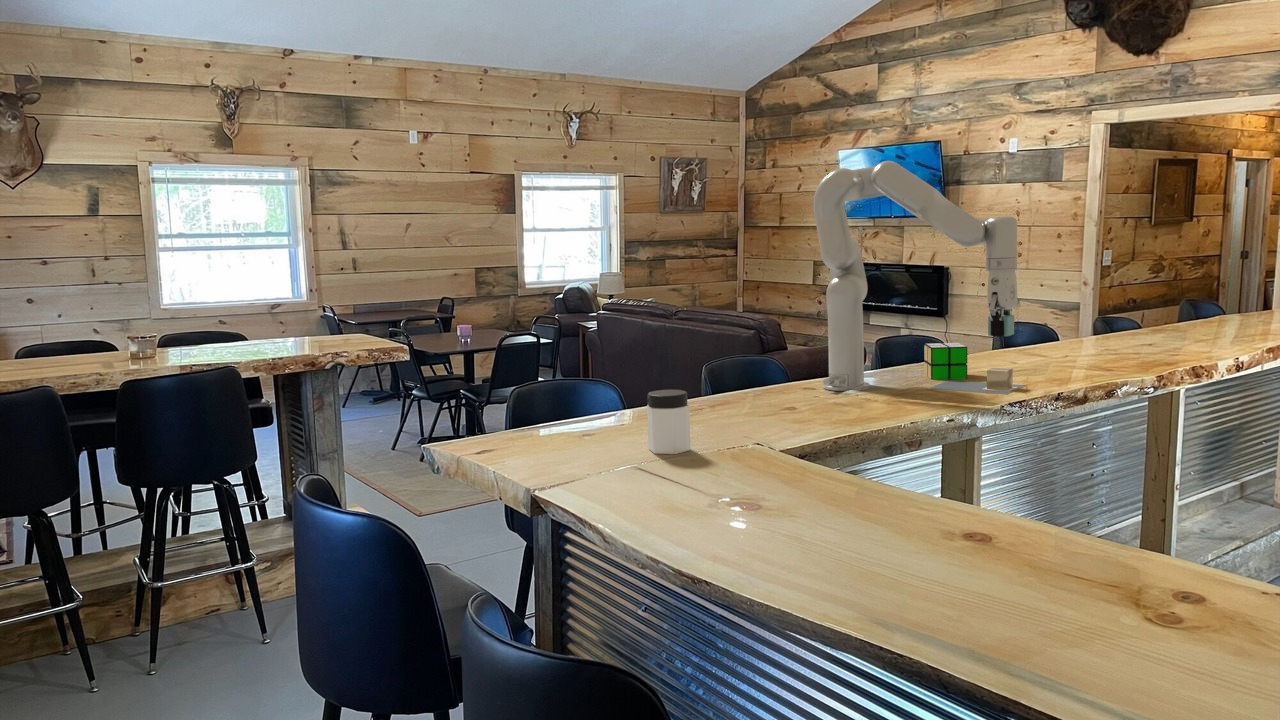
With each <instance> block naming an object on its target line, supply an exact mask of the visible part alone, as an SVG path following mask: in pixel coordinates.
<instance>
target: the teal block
mask: <svg viewBox="0 0 1280 720" xmlns="http://www.w3.org/2000/svg"><path fill="white" fill-rule="evenodd" d="M987 318H988V319H987V322H988V323H987V330H988V332H987V334H988V335H987V336H990V337H992V336H991V315H989V316H987ZM1003 321H1004V336H1003V337H1010V336H1012V335H1015V315H1014V314H1012V315H1003Z"/></svg>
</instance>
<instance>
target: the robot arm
mask: <svg viewBox="0 0 1280 720" xmlns="http://www.w3.org/2000/svg"><path fill="white" fill-rule="evenodd" d="M883 196H885V197H887V198H888V199H890V200H891V201H893V202H894V203H896V204H897V205H899V206H900V207H902V208H903V209H904V210H906V211H907V212H909V213H910V214H912V215H913V216H915V217H916V218H918V219H919V220H921V221H924V222H925V223H927V224H928V225H930V226H932V227H933V228H934V229H936V230H938V232H940V233H942V234H943V235H944V236H946V237H947V238H950V239H951V240H952V241H954V242H955V243H957V245H960V246H962V247H967V248H972V247H975V246H979V245H981V246H982V245H985V272H988V276H987V288H986V289H987V290H986V292H987V293H986V295H987V296H986V297H987V303H986V304H987V308H988V311H989V312H990V313H989V314H990V315H989V316H991V336H990V337H999V338H1000V337H1002V338H1003V337H1005V336H1004V321H1003V315H1013V314H1012V311H1013V309H1014V308H1016V307H1018V281H1017V272H1016V271H1018V221H1017V219H1016V217H1014V216H995V217H994V216H993V217H990V218H980V217H979V218H978V217H975V216H973V215H971V214H970V213H969V212H967V211H966V210H964V209H962V208H960V207H959V206H958V205H956V204H955V203H953V202H952V201H951V200H949V199H948V198H947V197H945V196H944V195H943V194H942V193H941V192H940V191H939V190H938V189H936V188H935V187H933V186H932V185H931V184H929V183H928V182H926V181H924V180H923V179H921V178H920V177H918V176H917V175H916V174H914V173H912V172H910V170H908V169H906V168H905V167H903V166H902V165H900V164H899V163H897V162H895V161H892V160H884V161H882V162H879V163H878V164H877V165H875V166H870V167H864V168H856V169H849V168H846V167H844V168H842V167H841V168H837V169H835V170H833V171H831V172H829V173H828V174H827V175H826V176H825V177H824V178H822V180H821V181H820V182H819V184H818V185H817V187H816V190H815V192H814V195H813V214H814V219H815V226H816V230H817V237H818V242H819V248H820V255H821V259H822V262H823V263H824V265H825V266H826V267H827V268H829V272H830V273H829V274H830V277H831V281H830V282H829V283H828V286H827V289H826V291H825V292H826V293H825V294H826V295H825V296H826V297H825V298H826V299H825V300H826V301H825V302H826V312H827V331H828V335H827V336H828V340H827V341H828V378H824V379H823V381H822V382H823V388H824V389H825V390H828V391H832V392H833V391H834V392H835V391H836V392H837V391H838V392H849V391H852V390H856V389H857V390H859V389H865V388H868V387H870V385H871V384H870V382H866V381H865V361H864V360H865V358H864V357H865V356H864V355H865V354H864V353H865V352H864V351H865V346H864V345H865V344H864V342H865V341H864V310H863V302H864V300H865V298H867V295H868V290H869V289H868V281H867V277H866V270H865V266H864V261H863V256H862V251H861V248H860V245H859V243H858V242H857V240H856V239H854V238H853V237H852V235H851V232H850V228H849V221H848V216H847V213H846V202H852V201H853V202H854V201H859V200H865V199H872V198H877V197H883Z"/></svg>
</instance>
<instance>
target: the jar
mask: <svg viewBox="0 0 1280 720" xmlns="http://www.w3.org/2000/svg"><path fill="white" fill-rule="evenodd" d="M646 413H647V414H646V417H647V435H648V436H647V441H648V442H647V443H648V444H647V446H648V450H650V452H651V453H653V454H655V455H679V454H681V453H685V452H690V451H691V447H692V446H691V425H690V423H691V422H690V421H691V420H690V418H691V417H690V405H688V392H687V391H685V390H681V389H661V390H654V391H649V392H648V393H647V405H646Z"/></svg>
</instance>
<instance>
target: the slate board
mask: <svg viewBox="0 0 1280 720" xmlns="http://www.w3.org/2000/svg"><path fill="white" fill-rule="evenodd" d="M1027 386H1028V385H1027V384H1013V386H1012V388H1010V389H1008V390H995V389H987V382H986V381H985V382H983V381H965V380H955V379H948V380H946V381H943V382H941V383H939V384H935V385H933V386H930V387H928V388H926V389H927V390H939V391H953V392H954V391H955V392H967V393H977V394H978V393H980V394H981V393H982V394H992V395H995V394H996V395H1005V396H1007V395H1010V394H1013V393H1014V392H1016V391H1018V390H1020V389H1023V388H1024V387H1027Z"/></svg>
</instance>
